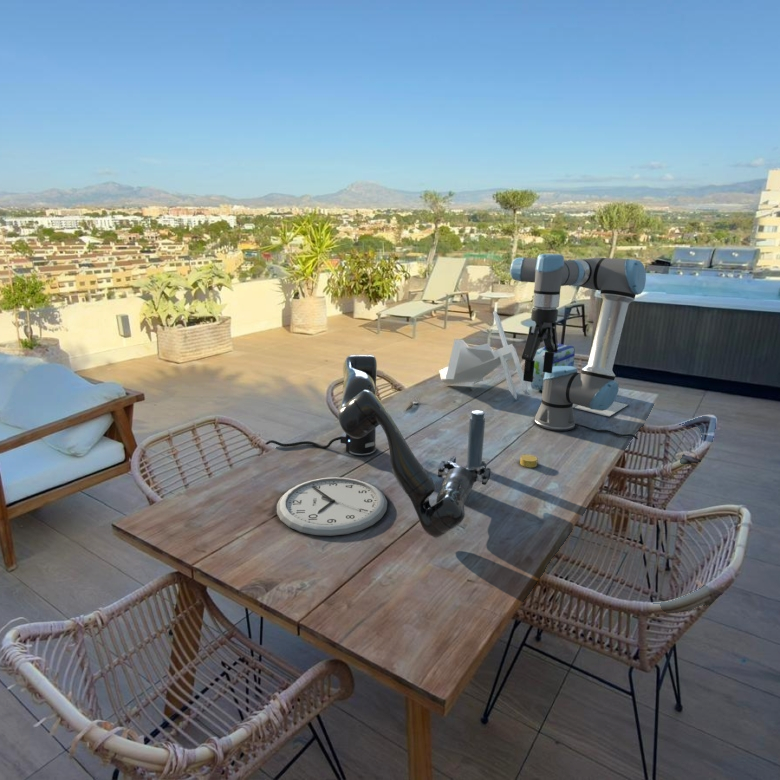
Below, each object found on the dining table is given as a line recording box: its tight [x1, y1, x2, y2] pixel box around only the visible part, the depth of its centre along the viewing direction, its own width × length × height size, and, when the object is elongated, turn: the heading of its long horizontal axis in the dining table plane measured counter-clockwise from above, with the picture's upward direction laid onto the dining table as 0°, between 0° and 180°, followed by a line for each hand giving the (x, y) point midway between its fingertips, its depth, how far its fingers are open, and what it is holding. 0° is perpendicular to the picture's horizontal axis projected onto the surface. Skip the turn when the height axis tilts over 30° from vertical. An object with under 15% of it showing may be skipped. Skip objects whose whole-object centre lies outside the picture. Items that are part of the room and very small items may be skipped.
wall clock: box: [276, 476, 388, 537], centre depth 142 cm, size 30×2×30 cm
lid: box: [519, 454, 538, 469], centre depth 170 cm, size 5×5×2 cm
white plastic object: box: [438, 310, 531, 400], centre depth 245 cm, size 37×45×31 cm
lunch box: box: [530, 343, 576, 391], centre depth 249 cm, size 26×11×21 cm, turn 134°
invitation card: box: [573, 401, 629, 418], centre depth 226 cm, size 21×1×15 cm
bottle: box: [466, 410, 486, 468], centre depth 163 cm, size 5×5×19 cm
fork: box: [405, 396, 421, 411], centre depth 222 cm, size 3×16×2 cm, turn 160°
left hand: (468, 461), depth 154 cm, fingers open, 8 cm apart
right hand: (537, 376), depth 161 cm, fingers open, 13 cm apart
